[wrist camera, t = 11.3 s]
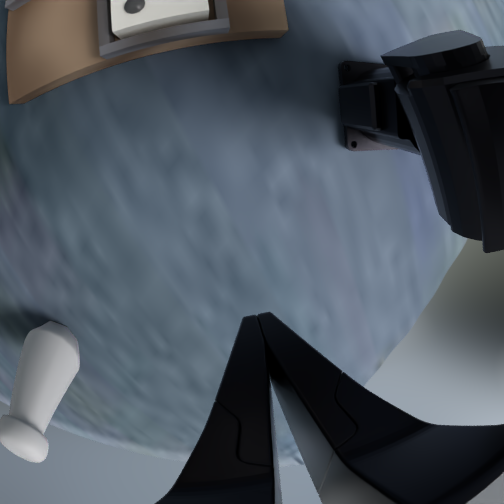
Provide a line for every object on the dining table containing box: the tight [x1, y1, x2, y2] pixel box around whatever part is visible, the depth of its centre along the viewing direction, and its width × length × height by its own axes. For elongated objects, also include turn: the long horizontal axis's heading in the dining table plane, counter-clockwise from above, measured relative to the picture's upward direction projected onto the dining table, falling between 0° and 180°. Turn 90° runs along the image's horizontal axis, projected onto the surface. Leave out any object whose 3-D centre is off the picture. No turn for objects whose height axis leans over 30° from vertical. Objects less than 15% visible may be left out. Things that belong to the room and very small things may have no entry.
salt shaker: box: [0, 321, 80, 463], centre depth 16 cm, size 6×6×13 cm
